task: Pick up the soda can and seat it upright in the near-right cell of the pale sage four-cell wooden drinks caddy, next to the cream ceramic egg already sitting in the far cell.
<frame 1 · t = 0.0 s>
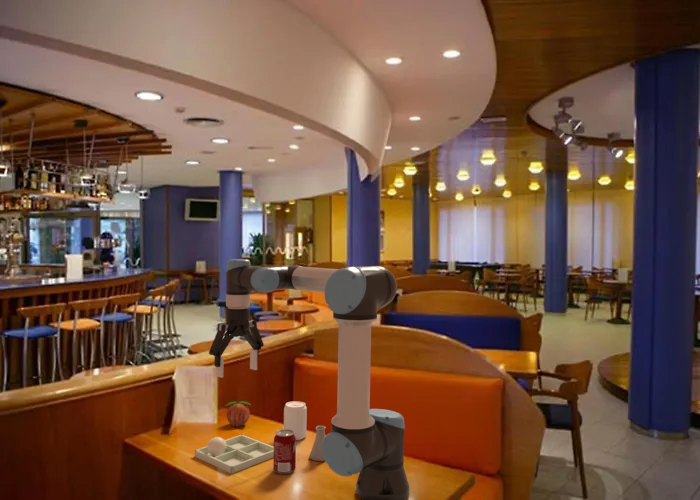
hand: (237, 373, 178), 28 cm above the table, fingers open, 13 cm apart
flask: (320, 458, 182), on the table
beverage can: (294, 437, 199), on the table
ceramic egg: (216, 455, 179), point 1 cm above the table, touching caddy
fruit: (237, 425, 211), on the table
soda can: (284, 471, 171), on the table
caddy: (237, 458, 179), on the table
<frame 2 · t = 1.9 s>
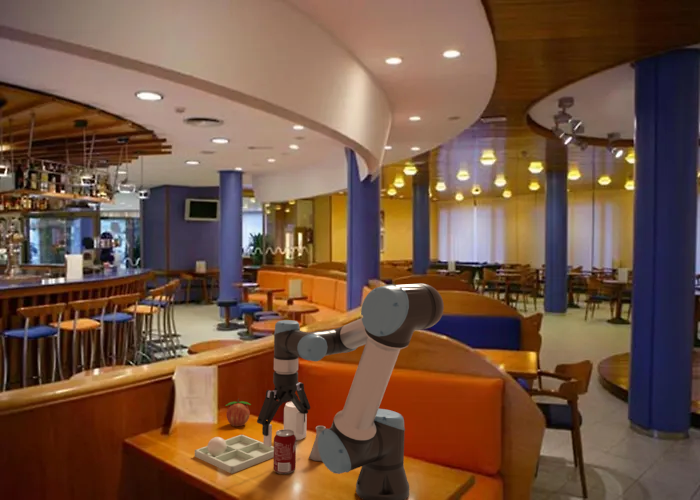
hand: (284, 439, 171), 10 cm above the table, fingers open, 13 cm apart
nothing on the table moved.
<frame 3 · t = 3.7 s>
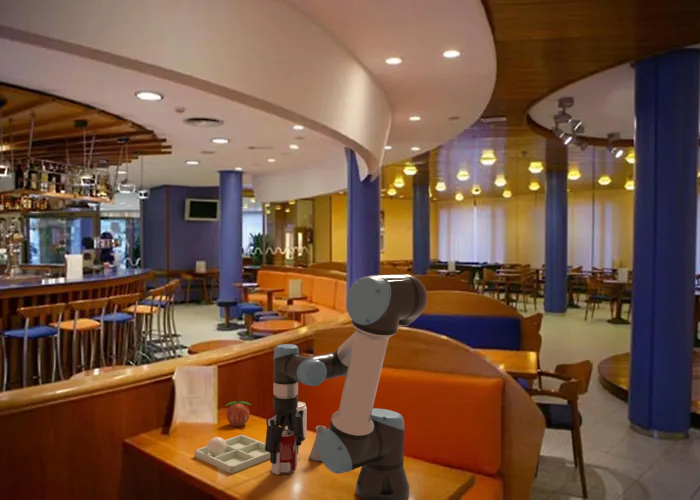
hand: (284, 469, 171), 1 cm above the table, fingers closed on soda can, 7 cm apart
soda can: (284, 471, 171), on the table, touching gripper
everything else where it was.
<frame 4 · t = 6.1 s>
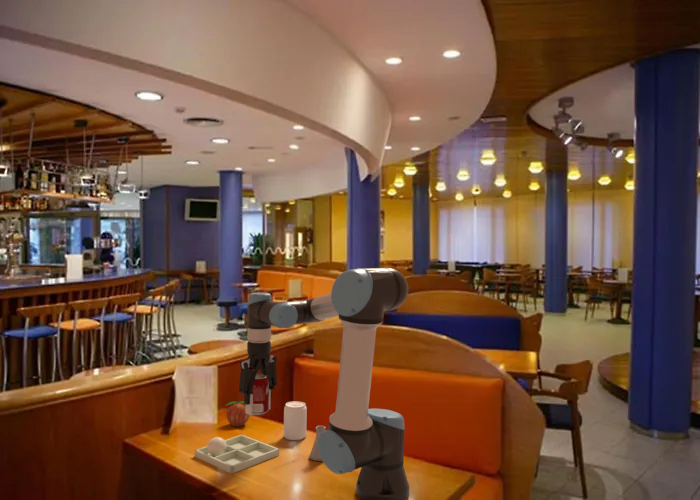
hand: (258, 411, 179), 15 cm above the table, fingers closed on soda can, 7 cm apart
soda can: (257, 413, 180), point 15 cm above the table, touching gripper
everything else where it was.
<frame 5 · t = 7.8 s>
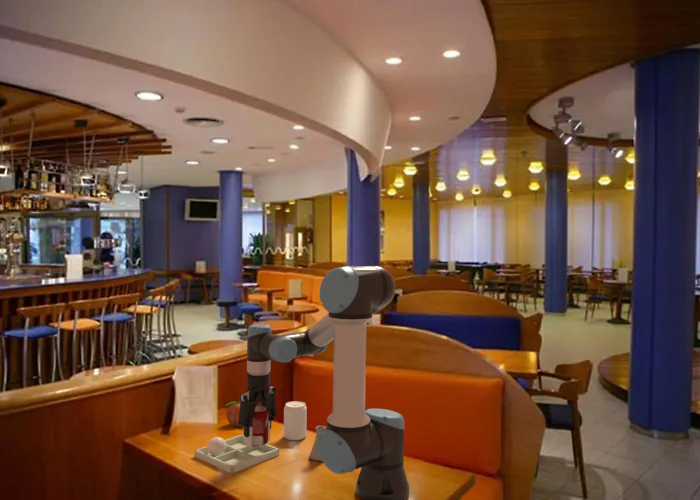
hand: (257, 442, 180), 5 cm above the table, fingers closed on soda can, 7 cm apart
soda can: (257, 444, 180), point 4 cm above the table, touching gripper
everything else where it was.
when the fingers open (4 cm above the table, at t = 8.8 s): soda can drops 3 cm, resting on caddy.
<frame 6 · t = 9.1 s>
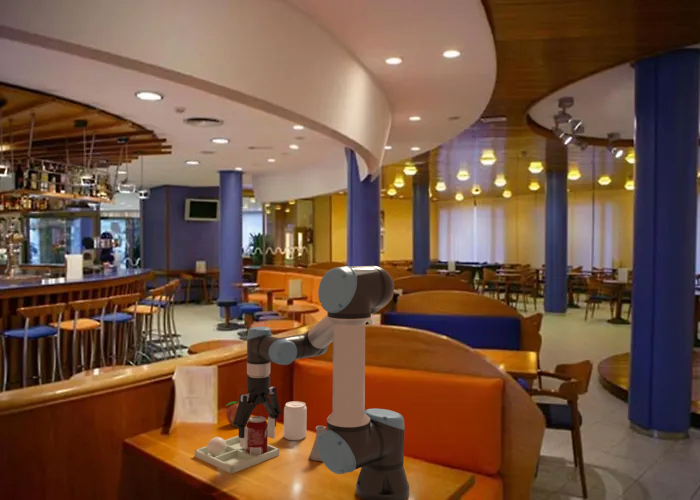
hand: (257, 442, 180), 5 cm above the table, fingers open, 11 cm apart
soda can: (256, 456, 180), point 1 cm above the table, touching caddy
everything else where it was.
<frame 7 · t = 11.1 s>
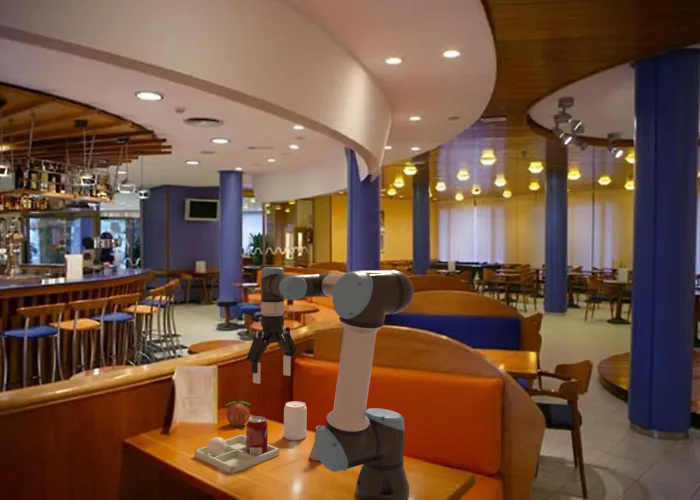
hand: (272, 379, 182), 25 cm above the table, fingers open, 13 cm apart
nothing on the table moved.
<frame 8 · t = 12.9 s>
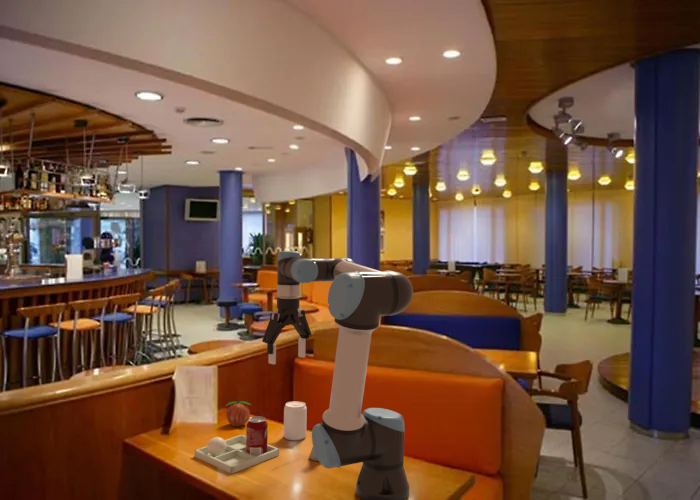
hand: (287, 360, 185), 31 cm above the table, fingers open, 13 cm apart
nothing on the table moved.
at the end: soda can inside the target area on the caddy (0.2 cm from its centre), point 0.8 cm above the caddy's base; soda can tilted 0°; the gripper is holding nothing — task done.
